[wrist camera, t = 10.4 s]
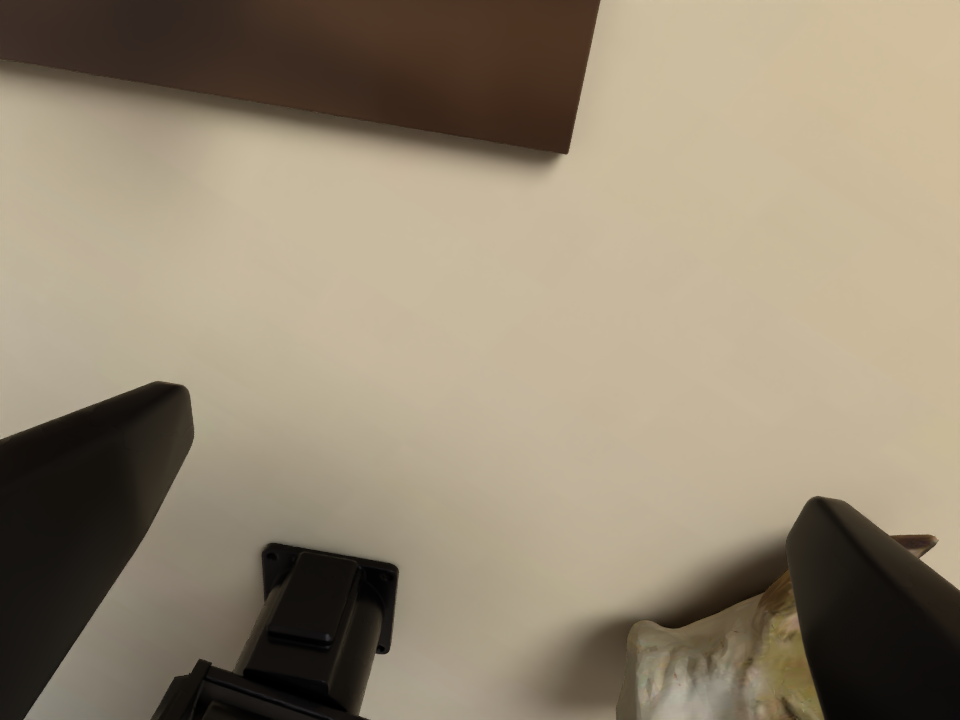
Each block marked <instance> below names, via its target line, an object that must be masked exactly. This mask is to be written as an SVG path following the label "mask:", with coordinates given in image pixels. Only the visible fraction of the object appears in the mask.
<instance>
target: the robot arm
mask: <svg viewBox="0 0 960 720" xmlns="http://www.w3.org/2000/svg"><path fill="white" fill-rule="evenodd" d="M193 439H194V424H193V416H192V408H191V400H190V394H189V391H188V389H187V388H186V387H185V386H183V385H180V384H174V383H169V382H163V381H155V382H152V383H149V384H147V385H144V386H141V387H139V388H136V389H134V390H131V391H128V392H126V393H123V394H120V395H118V396H115V397H112V398H110V399H107V400H104V401H102V402H99V403H96V404H94V405H91V406H88V407H86V408H83V409H80V410H78V411H75V412H72V413H70V414H67V415H65V416H62V417H59V418H57V419H54V420H51V421H49V422H46V423H43V424H41V425H38V426H35V427H33V428H30V429H27V430H25V431H22V432H19V433H17V434H14V435H11V436H9V437H6V438H3V439H1V440H0V720H23V719H24V718H25V716H26V715H27V713H28V712H29V710H30V709H31V707H32V706H33V704H34V703H35V701H36V700H37V698H38V697H39V695H40V694H41V692H42V691H43V689H44V688H45V686H46V685H47V683H48V682H49V680H50V679H51V677H52V676H53V674H54V673H55V671H56V670H57V668H58V667H59V665H60V664H61V662H62V661H63V659H64V658H65V656H66V655H67V653H68V652H69V650H70V649H71V647H72V646H73V644H74V643H75V641H76V640H77V638H78V637H79V635H80V634H81V632H82V631H83V629H84V628H85V626H86V625H87V623H88V622H89V620H90V619H91V617H92V616H93V614H94V612H95V611H96V609H97V608H98V606H99V605H100V603H101V602H102V600H103V599H104V597H105V596H106V594H107V593H108V591H109V590H110V588H111V587H112V585H113V584H114V582H115V581H116V579H117V578H118V576H119V575H120V573H121V572H122V570H123V569H124V567H125V566H126V564H127V563H128V561H129V560H130V558H131V557H132V555H133V554H134V552H135V551H136V549H137V548H138V546H139V544H140V543H141V541H142V540H143V538H144V536H145V535H146V533H147V531H148V529H149V527H150V526H151V524H152V522H153V520H154V518H155V516H156V514H157V512H158V510H159V508H160V506H161V505H162V503H163V501H164V499H165V497H166V495H167V493H168V491H169V489H170V487H171V485H172V483H173V481H174V479H175V477H176V475H177V473H178V471H179V470H180V468H181V466H182V464H183V462H184V460H185V458H186V456H187V454H188V452H189V450H190V448H191V446H192V443H193ZM786 556H787V562H788V567H789V573H790V578H791V583H792V589H793V594H794V600H795V605H796V610H797V616H798V621H799V627H800V632H801V637H802V642H803V646H804V651H805V655H806V659H807V662H808V666H809V670H810V673H811V677H812V680H813V683H814V687H815V690H816V693H817V697H818V700H819V704H820V707H821V710H822V714H823V717H824V720H960V590H958V589H957V588H956V587H955V586H953V585H952V584H951V583H949V582H948V581H947V580H946V579H944V578H943V577H942V576H940V575H939V574H938V573H937V572H935V571H934V570H933V569H931V568H930V567H929V566H928V565H926V564H925V563H924V562H922V561H921V560H920V559H919V558H917V557H916V556H915V555H913V554H912V553H911V552H910V551H908V550H907V549H906V548H904V547H903V546H902V545H901V544H899V543H898V542H897V541H895V540H894V539H893V538H892V537H890V536H889V535H888V534H886V533H885V532H884V531H883V530H881V529H880V528H879V527H877V526H876V525H875V524H874V523H872V522H871V521H870V520H868V519H867V518H866V517H865V516H863V515H862V514H861V513H859V512H858V511H857V510H855V509H854V508H853V507H852V506H850V505H849V504H848V503H846V502H844V501H842V500H838V499H832V498H826V497H820V496H816V497H812V498H811V499H809V500H808V501H807V503H806V504H805V506H804V508H803V510H802V511H801V513H800V515H799V517H798V518H797V520H796V522H795V524H794V525H793V527H792V529H791V531H790V532H789V535H788V537H787V540H786ZM262 566H263V583H264V600H265V604H264V606H263V608H262V610H261V613H260V615H259V617H258V619H257V621H256V623H255V625H254V627H253V630H252V632H251V634H250V636H249V638H248V640H247V642H246V644H245V646H244V649H243V651H242V653H241V655H240V657H239V659H238V661H237V663H236V665H235V668H234V670H233V672H229V671H227V670H224V669H221V668H218V667H215V666H212V663H211V662H208V661H205V660H202V659H199V660H198V662H197V664H196V665H195V667H194V669H193V670H192V672H191V673H189V675H184V676H178V677H174V679H173V681H172V683H171V685H170V686H169V688H168V690H167V692H166V694H165V696H164V697H163V699H162V701H161V703H160V704H159V706H158V708H157V710H156V711H155V713H154V715H153V716H152V718H151V719H150V720H369V719H366V718H363V717H360V716H359V712H360V708H361V705H362V701H363V697H364V693H365V690H366V686H367V682H368V678H369V675H370V671H371V667H372V663H373V660H374V656H375V653H376V654H387V653H388V652H389V650H390V646H391V641H392V632H393V623H394V614H395V605H396V596H397V586H398V577H399V569H398V568H397V567H396V566H395V565H393V564H390V563H384V562H379V561H373V560H367V559H362V558H356V557H350V556H345V555H339V554H334V553H328V552H322V551H317V550H311V549H305V548H300V547H294V546H288V545H283V544H277V543H270V544H267V545H266V547H265V549H264V551H263V552H262Z"/></svg>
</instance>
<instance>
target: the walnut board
mask: <svg viewBox="0 0 960 720" xmlns="http://www.w3.org/2000/svg"><path fill="white" fill-rule="evenodd" d="M599 5H600V0H0V59H4V60H10V61H15V62H21V63H27V64H33V65H39V66H45V67H51V68H57V69H63V70H69V71H75V72H81V73H87V74H92V75H98V76H104V77H110V78H116V79H122V80H128V81H134V82H140V83H146V84H152V85H158V86H164V87H169V88H175V89H181V90H187V91H193V92H199V93H205V94H211V95H217V96H223V97H229V98H235V99H241V100H246V101H252V102H258V103H264V104H270V105H276V106H282V107H288V108H294V109H300V110H306V111H312V112H318V113H323V114H329V115H335V116H341V117H347V118H353V119H359V120H365V121H371V122H377V123H383V124H389V125H395V126H400V127H406V128H412V129H418V130H424V131H430V132H436V133H442V134H448V135H454V136H460V137H466V138H472V139H477V140H483V141H489V142H495V143H501V144H507V145H513V146H519V147H525V148H531V149H537V150H543V151H549V152H554V153H560V154H568V152H569V148H570V143H571V138H572V133H573V129H574V124H575V119H576V114H577V109H578V105H579V100H580V95H581V90H582V86H583V81H584V76H585V71H586V67H587V62H588V57H589V52H590V48H591V43H592V38H593V33H594V29H595V24H596V19H597V14H598V10H599Z"/></svg>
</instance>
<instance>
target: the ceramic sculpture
mask: <svg viewBox="0 0 960 720" xmlns="http://www.w3.org/2000/svg"><path fill="white" fill-rule="evenodd" d="M890 537H892V538H893V539H894V540H895V541H897V542H898V543H899V544H901V545H902V546H903V547H904V548H906V549H907V550H908V551H910V552H911V553H912V554H913V555H915V556H916V557H917V558H920V557H921V556H923V555H924V554H925V553H926V552H928V551H929V550H930V549H931V548H933V547H934V546H935V545H936V544H937V542H938V539H937V538H936V537H935V536H932V535H894V536H890ZM626 652H627V665H626V672H625V679H624V683H623V686H622V689H621V693H620V696H619V699H618V703H617V706H616V720H824V717H823V714H822V710H821V707H820V704H819V700H818V697H817V693H816V690H815V687H814V683H813V680H812V677H811V673H810V670H809V666H808V662H807V659H806V655H805V651H804V646H803V642H802V637H801V632H800V627H799V621H798V616H797V610H796V605H795V600H794V594H793V589H792V583H791V578H790V573H789V569H788V570H787V571H786V572H785V573H784V574H783V575H782V576H781V577H780V578H779V579H777V580H776V581H775V582H774V583H773V584H772V585H771V586H770V587H769V588H768V589H767V590H766V592H764V593H761V594H759V595H756V596H754V597H752V598H749V599H747V600H744V601H742V602H739V603H737V604H735V605H733V606H731V607H729V608H727V609H725V610H723V611H721V612H719V613H717V614H714V615H712V616H709V617H706V618H703V619H701V620H698V621H696V622H694V623H691V624H689V625H687V626H684V627H681V628H677V629H670V628H665V627H662V626H660V625H658V624H656V623H655V622H653V621H649V620H644V621H638V622H637V623H635V624H634V625H633V626H632V628H631V630H630V632H629V634H628V636H627V650H626Z"/></svg>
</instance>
